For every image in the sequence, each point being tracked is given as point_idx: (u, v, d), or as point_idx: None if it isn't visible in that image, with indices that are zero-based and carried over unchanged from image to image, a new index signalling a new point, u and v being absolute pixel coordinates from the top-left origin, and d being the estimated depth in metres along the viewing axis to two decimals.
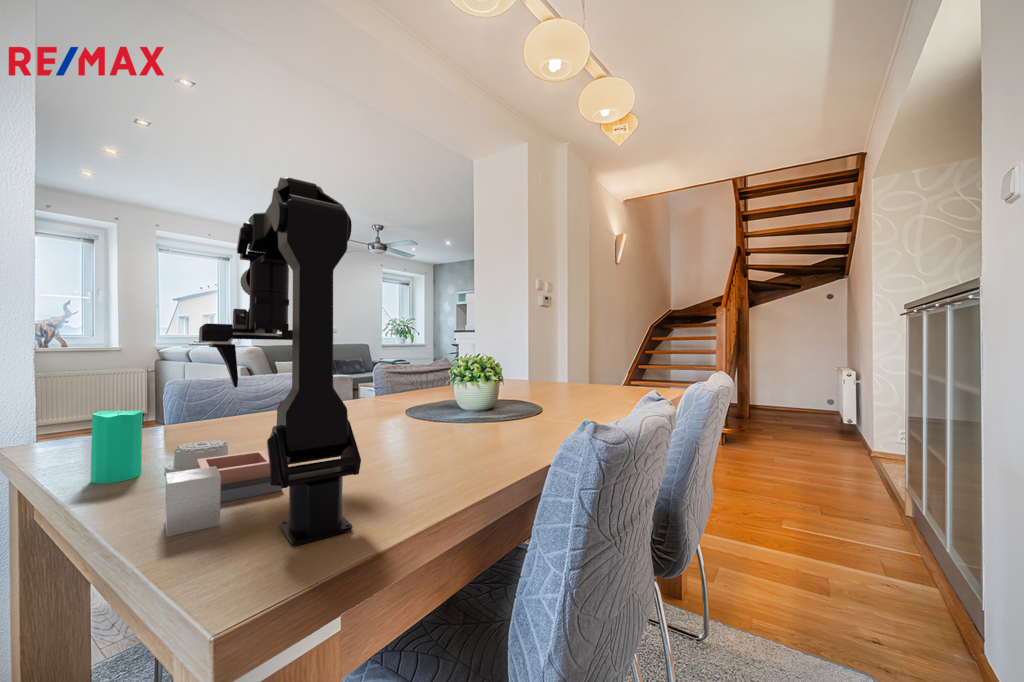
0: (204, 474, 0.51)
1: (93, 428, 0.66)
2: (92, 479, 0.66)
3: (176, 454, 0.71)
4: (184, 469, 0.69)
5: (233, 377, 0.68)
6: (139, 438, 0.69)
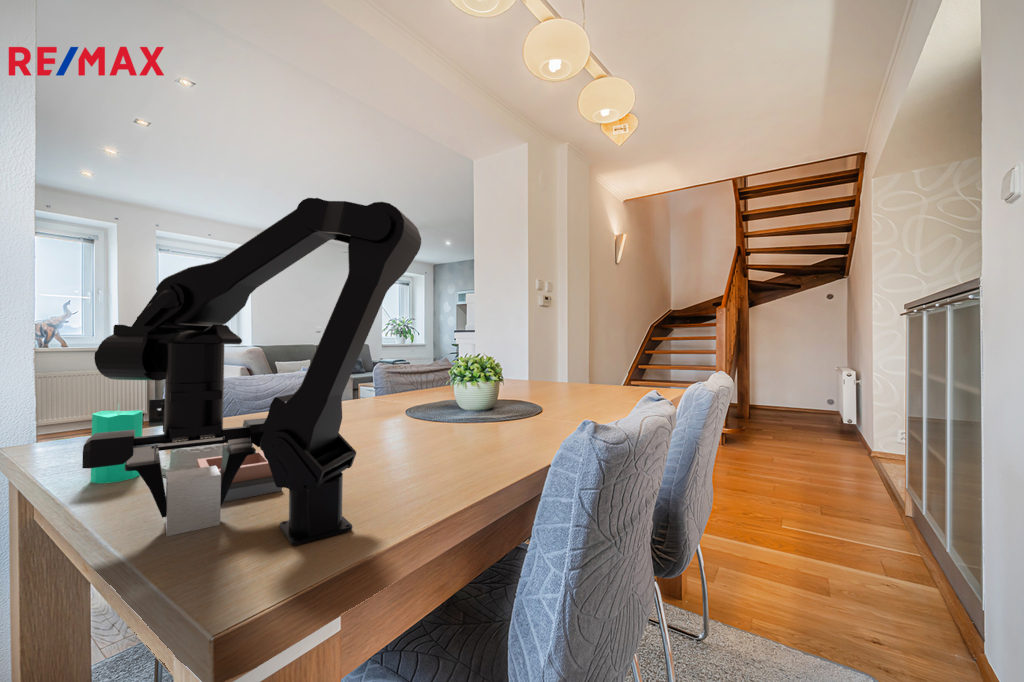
0: (204, 473, 0.51)
1: (93, 428, 0.66)
2: (92, 479, 0.66)
3: (172, 454, 0.71)
4: (180, 469, 0.69)
5: (159, 505, 0.49)
6: None
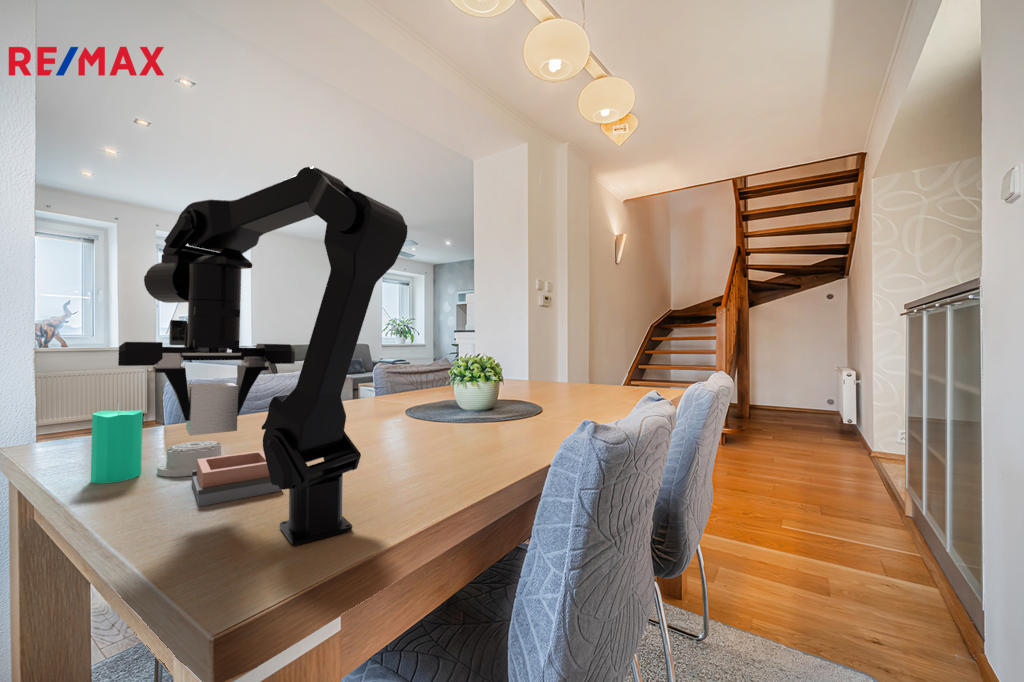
0: (223, 385, 0.57)
1: (93, 428, 0.66)
2: (92, 479, 0.66)
3: (168, 454, 0.71)
4: (176, 469, 0.69)
5: (183, 409, 0.54)
6: (139, 438, 0.69)
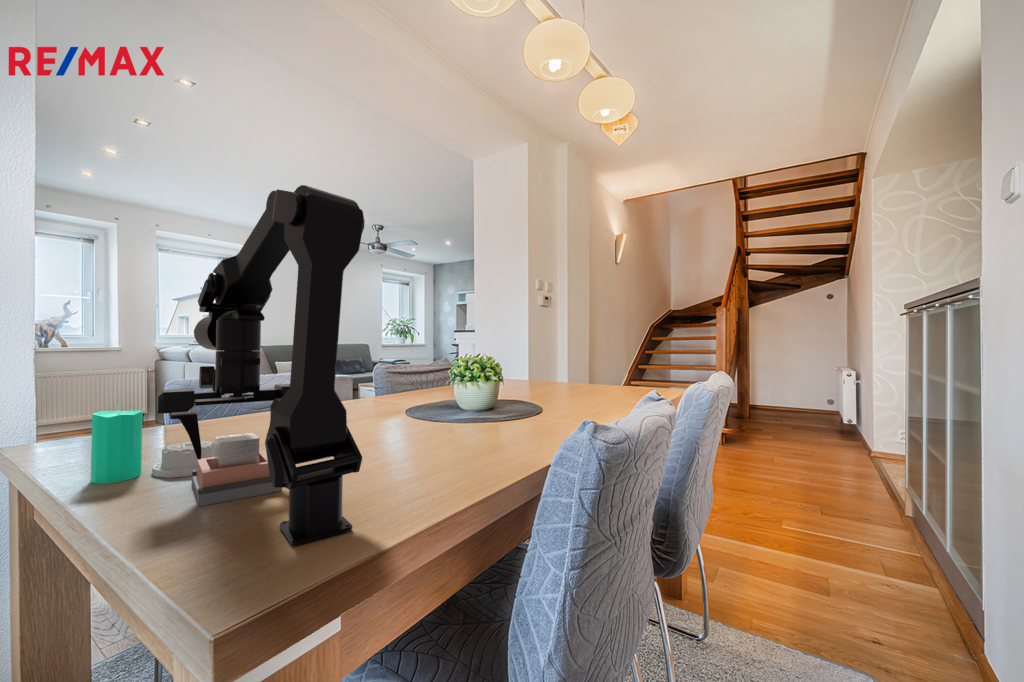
0: (246, 437, 0.65)
1: (93, 428, 0.66)
2: (92, 479, 0.66)
3: (163, 455, 0.70)
4: (170, 470, 0.69)
5: (196, 449, 0.60)
6: (139, 438, 0.69)
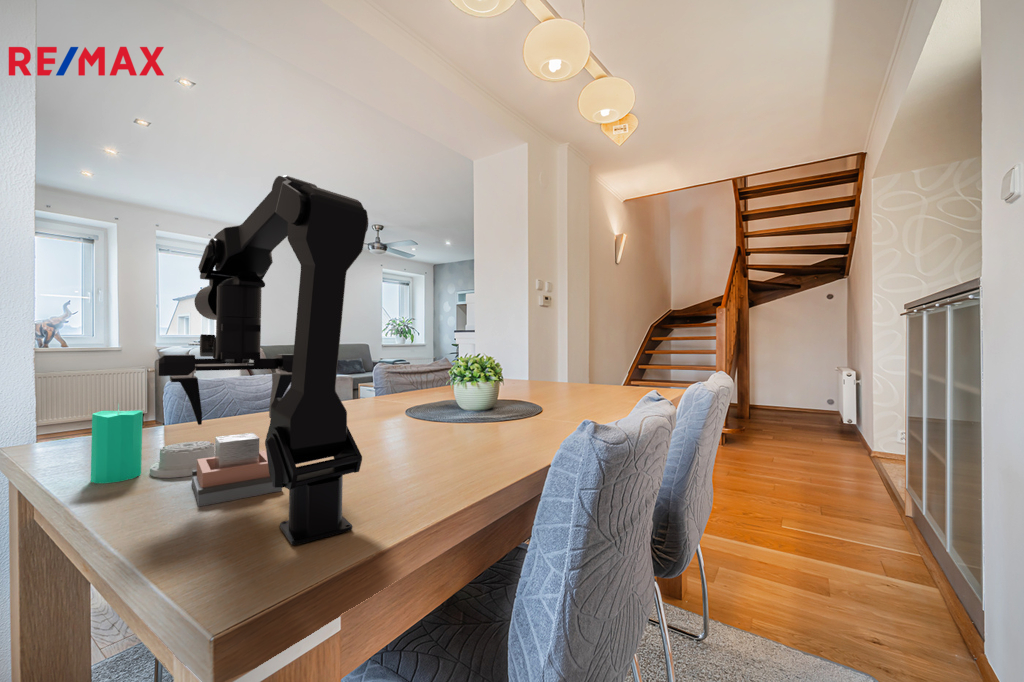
0: (246, 437, 0.65)
1: (93, 428, 0.66)
2: (92, 479, 0.66)
3: (161, 455, 0.70)
4: (168, 470, 0.69)
5: (196, 414, 0.60)
6: (139, 438, 0.69)
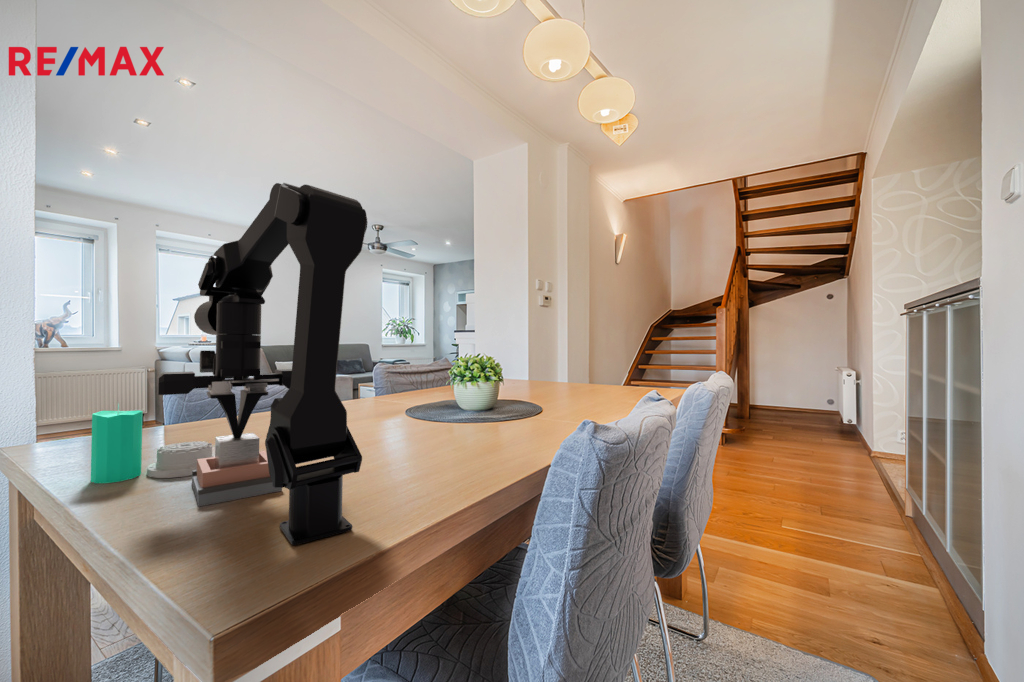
0: (246, 437, 0.65)
1: (93, 428, 0.66)
2: (92, 479, 0.66)
3: (158, 455, 0.70)
4: (165, 470, 0.69)
5: (233, 428, 0.63)
6: (139, 438, 0.69)
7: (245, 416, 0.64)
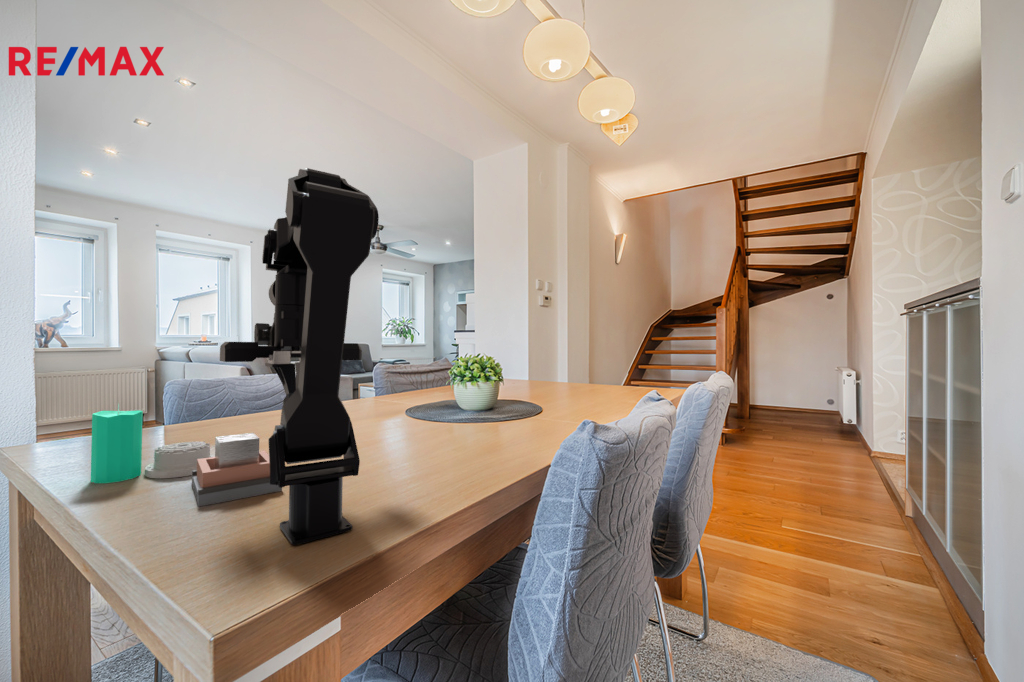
0: (246, 437, 0.65)
1: (93, 428, 0.66)
2: (92, 479, 0.66)
3: (156, 455, 0.70)
4: (163, 471, 0.68)
5: None
6: (139, 438, 0.69)
7: None
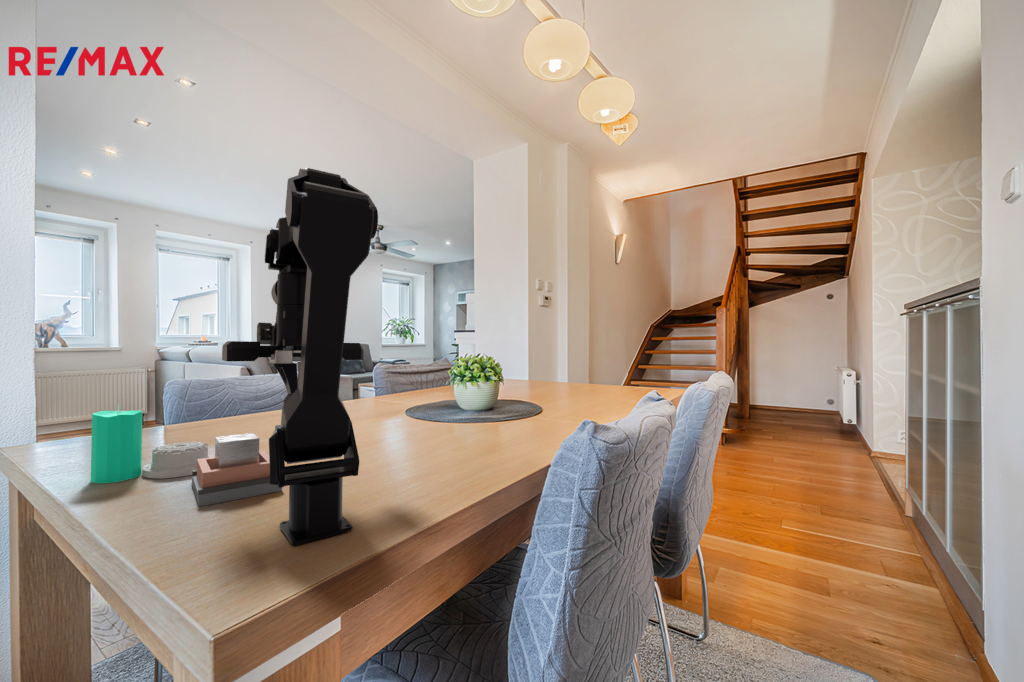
0: (246, 437, 0.65)
1: (93, 428, 0.66)
2: (92, 479, 0.66)
3: (153, 455, 0.70)
4: (160, 471, 0.68)
5: None
6: (139, 438, 0.69)
7: None
